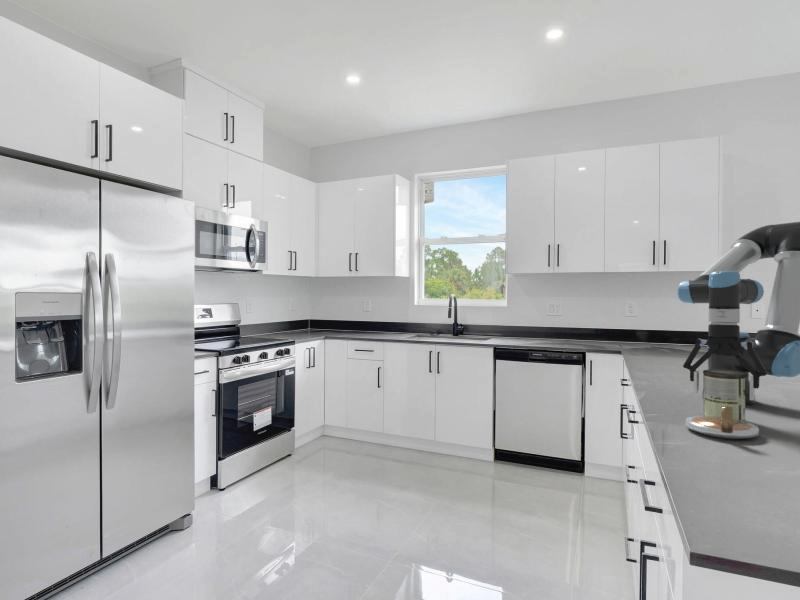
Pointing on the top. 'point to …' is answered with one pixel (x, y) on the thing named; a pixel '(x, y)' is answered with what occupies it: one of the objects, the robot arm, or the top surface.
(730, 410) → the turntable
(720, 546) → the top surface
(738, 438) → the turntable base
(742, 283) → the robot arm
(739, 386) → the coffee can
